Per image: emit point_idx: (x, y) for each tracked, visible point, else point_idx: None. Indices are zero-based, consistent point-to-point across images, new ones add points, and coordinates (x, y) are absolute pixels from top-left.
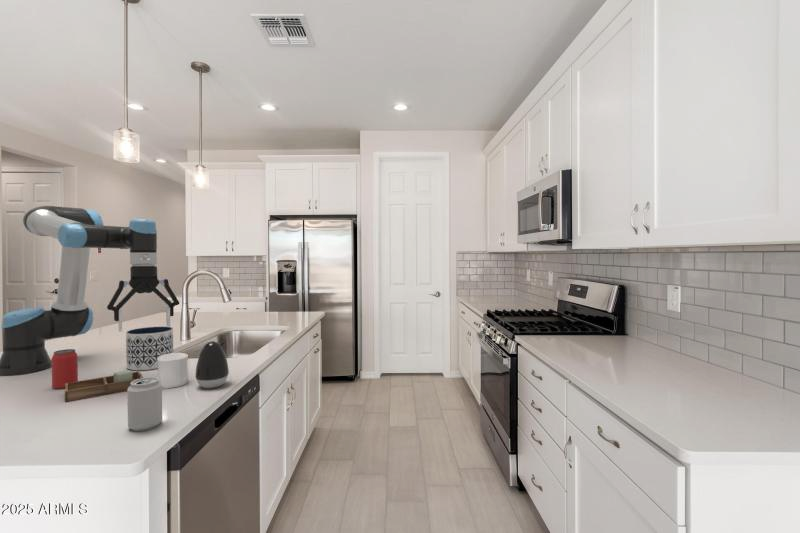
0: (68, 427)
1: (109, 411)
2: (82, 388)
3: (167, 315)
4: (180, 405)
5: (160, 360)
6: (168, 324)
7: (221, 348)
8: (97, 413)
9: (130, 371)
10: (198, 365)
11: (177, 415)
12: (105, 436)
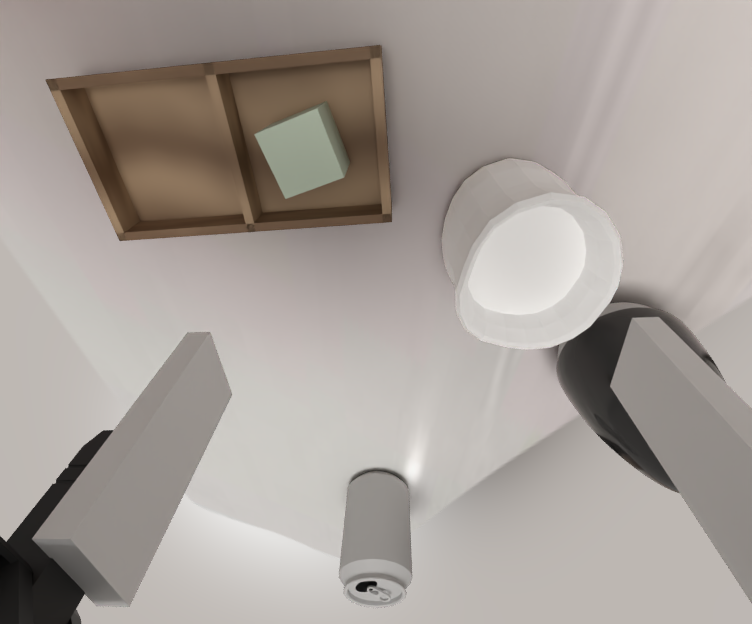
0: (232, 423)
1: (301, 380)
2: (171, 233)
3: (682, 481)
4: (461, 429)
5: (464, 326)
6: (625, 401)
7: None
8: (274, 378)
9: (334, 159)
10: (583, 410)
11: (441, 473)
12: (312, 489)
